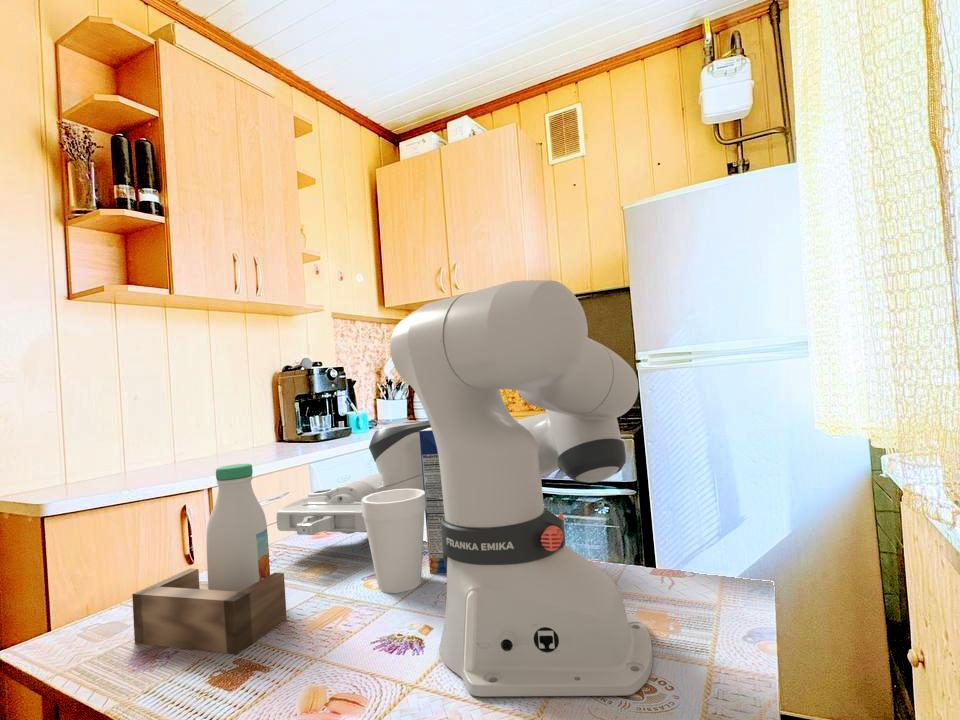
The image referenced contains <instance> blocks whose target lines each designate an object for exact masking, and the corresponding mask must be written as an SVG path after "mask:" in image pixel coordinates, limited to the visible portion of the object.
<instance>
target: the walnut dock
mask: <svg viewBox="0 0 960 720" xmlns="http://www.w3.org/2000/svg"><path fill="white" fill-rule="evenodd" d="M199 570H200V569H199V568H188V569H186V570H184V571H181V572H180V573H177V574H174V575H173V576H170V577H167V578H165V579H163V580H160V581H158V582H156V583H154V584H152V585H150V586H148V587H145V588H143V589H140V590H138V591H136V592H134V593H132V595H131V597H132V611H133V614H132V616H133V617H132V619H133V634H134V637H133V639H134V644H139V645H140V644H141V645H152V646H157V647H168V648H176V649H185V650H192V651H193V650H194V651H203V652H211V651H212V652H213V653H220V654H231V655H239V654H240V653H241V652H243V651H244V650H246V649H247V648H249V647H250V646H252V645H253V644H255V642H257V641H258V640H260V639H261V638H263V637H264V636H265V635H267V634H268V633H270V632H271V631H273V630H274V629H276V628H277V627H279V626H280V625H281V624H282V622H283V623H285V622H286V621H287V619H288V617H287V602H286V601H287V600H286V585H285V584H286V583H285V573H284V572H273V573H270V575H269V576H267V577H266V578H264V579H262V580H260V581H258V582H256V583H255V584H253V585H251V586H249V587H247V588H246V589H244V590H242V591H240V592H236V591H220V590H208V589H204V588H201V589H200V573H199V572H200V571H199ZM285 620H286V621H285ZM279 624H280V625H279Z"/></svg>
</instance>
